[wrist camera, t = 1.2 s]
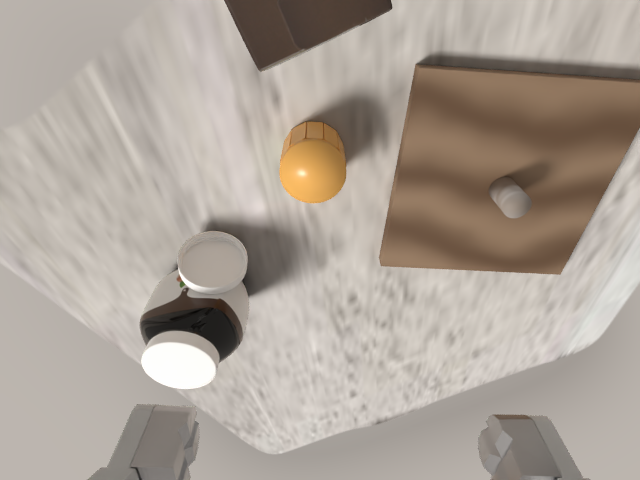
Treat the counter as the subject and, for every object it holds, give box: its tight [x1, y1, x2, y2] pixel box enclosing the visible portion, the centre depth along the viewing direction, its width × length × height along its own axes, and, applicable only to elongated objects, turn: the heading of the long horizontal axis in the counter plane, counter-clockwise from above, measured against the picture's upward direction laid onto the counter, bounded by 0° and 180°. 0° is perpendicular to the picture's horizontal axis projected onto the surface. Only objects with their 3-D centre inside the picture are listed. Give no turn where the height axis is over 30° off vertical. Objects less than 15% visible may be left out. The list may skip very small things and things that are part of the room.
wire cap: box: [280, 121, 346, 203], centre depth 34 cm, size 6×6×5 cm
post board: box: [379, 64, 640, 274], centre depth 36 cm, size 20×20×5 cm
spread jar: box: [140, 231, 249, 389], centre depth 39 cm, size 12×11×12 cm
